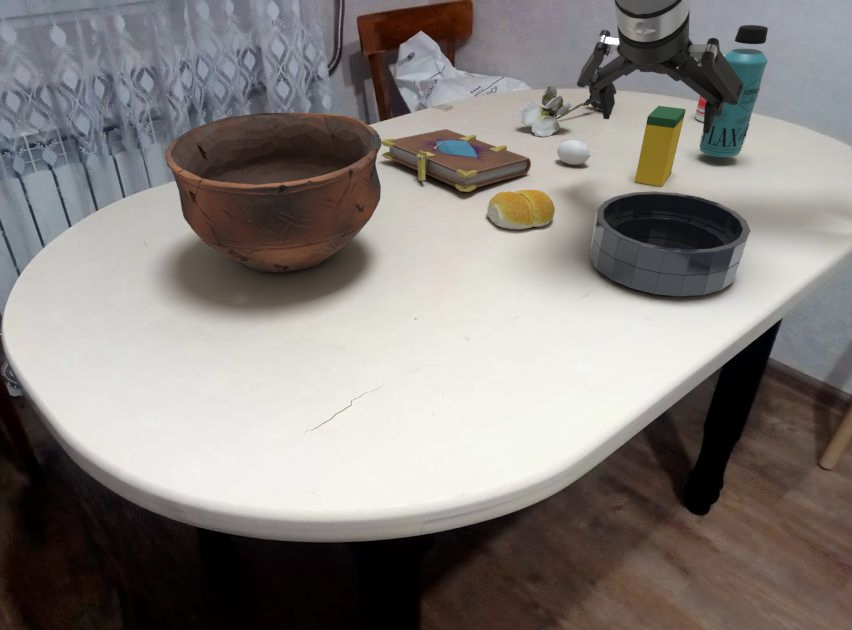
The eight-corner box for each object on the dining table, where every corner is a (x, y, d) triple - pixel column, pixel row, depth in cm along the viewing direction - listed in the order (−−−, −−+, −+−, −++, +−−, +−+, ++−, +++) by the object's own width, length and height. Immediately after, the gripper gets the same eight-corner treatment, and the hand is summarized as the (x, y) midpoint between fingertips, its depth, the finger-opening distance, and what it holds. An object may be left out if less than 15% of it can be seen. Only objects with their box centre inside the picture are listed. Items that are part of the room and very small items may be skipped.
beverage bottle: (688, 159, 108) (721, 26, 97) (707, 150, 112) (741, 20, 100) (727, 169, 104) (766, 31, 92) (746, 159, 108) (786, 25, 96)
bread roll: (564, 225, 90) (567, 197, 87) (504, 235, 87) (506, 207, 85) (534, 202, 96) (537, 175, 94) (478, 211, 94) (480, 184, 91)
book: (432, 142, 121) (433, 114, 118) (532, 180, 105) (536, 149, 102) (359, 157, 113) (359, 128, 110) (456, 201, 97) (458, 168, 94)
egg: (560, 157, 111) (563, 134, 109) (594, 164, 108) (597, 140, 106) (549, 163, 108) (552, 140, 106) (583, 171, 105) (587, 147, 103)
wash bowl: (745, 253, 82) (760, 207, 78) (719, 315, 70) (735, 266, 67) (612, 225, 89) (620, 182, 86) (569, 277, 78) (577, 231, 74)
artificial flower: (620, 121, 130) (637, 73, 122) (535, 158, 122) (547, 109, 114) (588, 99, 134) (603, 52, 126) (504, 133, 126) (514, 85, 118)
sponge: (670, 174, 103) (686, 108, 98) (661, 186, 99) (676, 119, 94) (644, 169, 105) (658, 105, 99) (634, 182, 101) (647, 115, 95)
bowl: (154, 303, 76) (120, 176, 67) (226, 213, 95) (207, 107, 87) (368, 314, 72) (361, 183, 64) (396, 220, 92) (394, 109, 83)
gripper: (535, 36, 78) (562, 128, 97) (765, 56, 67) (745, 155, 86) (556, -20, 79) (579, 82, 98) (788, -9, 68) (764, 104, 87)
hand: (657, 117), depth 92 cm, fingers open, 13 cm apart
